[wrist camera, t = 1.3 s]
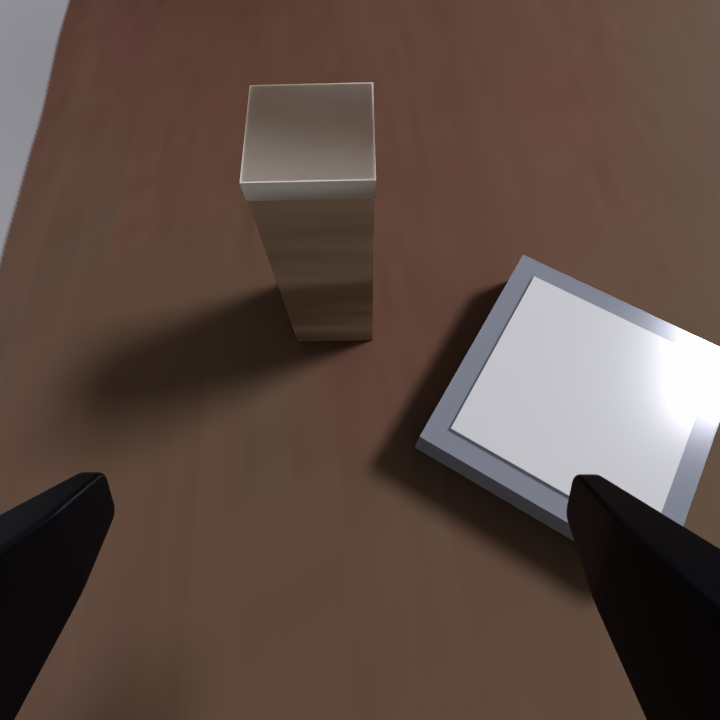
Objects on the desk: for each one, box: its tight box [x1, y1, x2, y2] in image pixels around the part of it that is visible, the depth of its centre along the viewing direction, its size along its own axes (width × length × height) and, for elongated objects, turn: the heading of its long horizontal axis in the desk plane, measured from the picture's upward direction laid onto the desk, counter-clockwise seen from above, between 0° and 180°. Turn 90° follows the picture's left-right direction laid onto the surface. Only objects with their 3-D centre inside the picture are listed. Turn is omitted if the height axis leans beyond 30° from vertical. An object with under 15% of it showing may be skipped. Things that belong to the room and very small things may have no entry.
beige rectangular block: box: [240, 82, 376, 342], centre depth 21 cm, size 4×4×12 cm
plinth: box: [415, 255, 720, 541], centre depth 23 cm, size 11×11×3 cm
